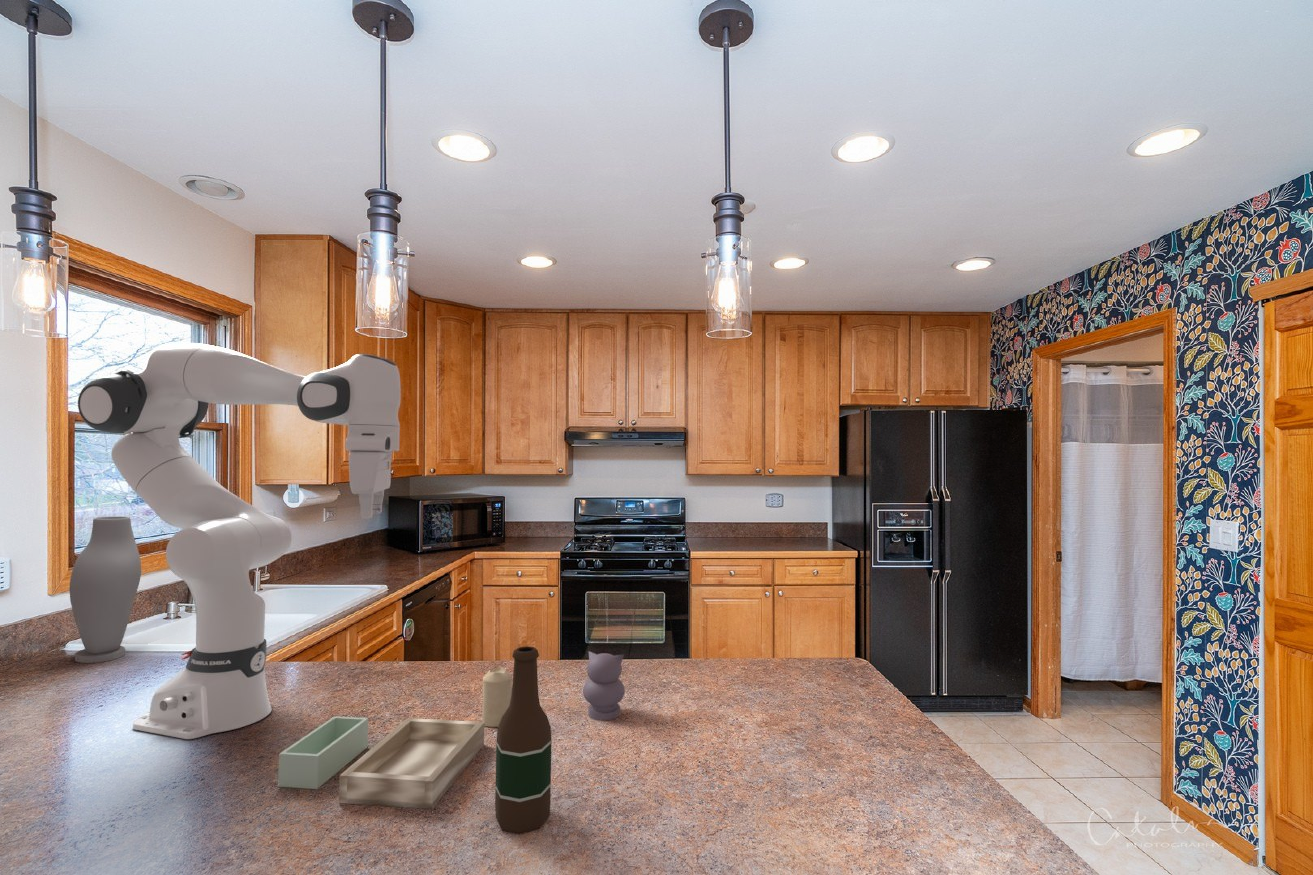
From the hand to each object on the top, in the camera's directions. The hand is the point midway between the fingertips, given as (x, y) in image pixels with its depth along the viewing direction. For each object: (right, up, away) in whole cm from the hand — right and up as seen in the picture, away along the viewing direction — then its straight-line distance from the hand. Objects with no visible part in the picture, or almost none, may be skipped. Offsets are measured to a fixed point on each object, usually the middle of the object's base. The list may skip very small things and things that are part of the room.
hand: (371, 516), depth 115 cm
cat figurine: (+42, -41, +10) cm, 60 cm away
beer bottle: (+34, -40, -26) cm, 59 cm away
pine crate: (+14, -40, -14) cm, 44 cm away
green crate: (-2, -40, -12) cm, 42 cm away
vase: (-86, -41, +41) cm, 104 cm away
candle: (+22, -41, +6) cm, 47 cm away
